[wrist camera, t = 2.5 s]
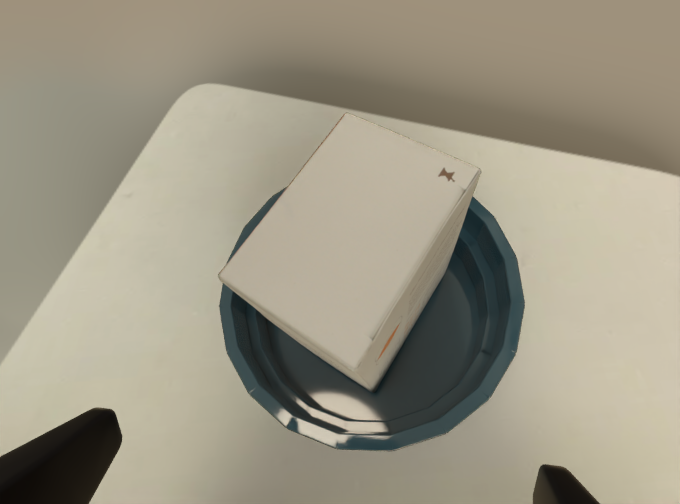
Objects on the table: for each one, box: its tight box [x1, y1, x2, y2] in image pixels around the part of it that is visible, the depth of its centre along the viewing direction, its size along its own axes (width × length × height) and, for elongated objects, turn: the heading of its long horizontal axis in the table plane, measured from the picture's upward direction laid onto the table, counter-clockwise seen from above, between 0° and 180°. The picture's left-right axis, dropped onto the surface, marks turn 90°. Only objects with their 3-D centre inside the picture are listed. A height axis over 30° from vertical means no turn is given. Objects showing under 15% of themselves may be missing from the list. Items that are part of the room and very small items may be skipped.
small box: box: [218, 113, 481, 393], centre depth 17 cm, size 8×6×10 cm
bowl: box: [219, 186, 525, 451], centre depth 20 cm, size 14×14×4 cm
